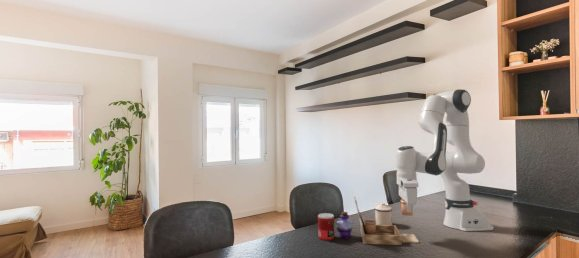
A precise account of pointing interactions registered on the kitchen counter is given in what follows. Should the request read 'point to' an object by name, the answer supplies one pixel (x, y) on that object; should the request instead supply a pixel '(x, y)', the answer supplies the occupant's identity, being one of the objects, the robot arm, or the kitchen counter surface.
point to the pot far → (370, 226)
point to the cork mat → (409, 238)
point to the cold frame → (380, 233)
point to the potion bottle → (344, 226)
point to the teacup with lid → (383, 214)
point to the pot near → (403, 208)
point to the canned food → (326, 226)
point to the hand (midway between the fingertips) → (407, 209)
